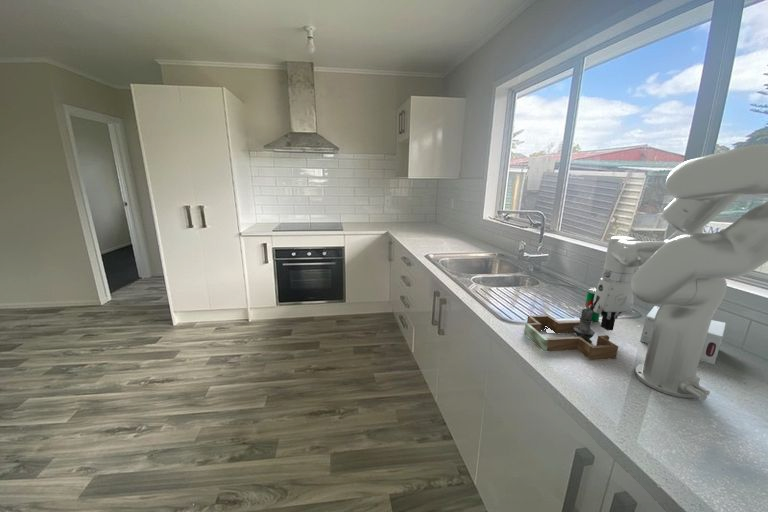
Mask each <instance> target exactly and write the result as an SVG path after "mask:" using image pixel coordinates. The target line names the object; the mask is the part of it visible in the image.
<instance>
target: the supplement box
mask: <svg viewBox="0 0 768 512" xmlns="http://www.w3.org/2000/svg"><path fill="white" fill-rule="evenodd" d="M659 308H660V306H657V305H654V306H653V307H652V309H651V310H650V311H649V312H648V313H647V315H646V316H645V321H644V324H643V328H642V332H641V336H640V342H641V341H642V343H644V342H645V344H647V345H649V341H650V337H651V332H652V328H653V324H654V320H655V316H656V313H657V311H658V309H659ZM726 326H727V323H726V322H723V321H719V320H715V319H712V320H711V323H710V326H709V330H708V333H707V336H706V340H705V343H704V347H703V350H702V354H701V357H700V361H701V360H702V362H705V363H708V364H711V365H715V364H716V361H717V357H718V354H719V351H720V348H721V345H722V341H723V338H724V335H725V331H726Z"/></svg>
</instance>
